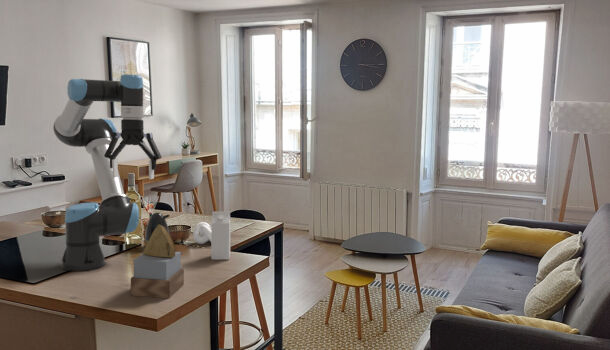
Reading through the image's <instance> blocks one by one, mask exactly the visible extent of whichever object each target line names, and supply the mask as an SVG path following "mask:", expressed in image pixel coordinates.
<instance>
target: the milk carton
mask: <svg viewBox="0 0 610 350" xmlns="http://www.w3.org/2000/svg"><path fill="white" fill-rule="evenodd" d="M210 225H211V242H210V244H211V246H210V247H211V250H210V251H211V253H210V254H211V256H210V259H211V260H212V261H213V260H216V261H217V260H220V261H221V260H226V261H228V260H230V256H231V211H211V224H210Z"/></svg>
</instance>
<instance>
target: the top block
mask: <svg viewBox="0 0 610 350" xmlns="http://www.w3.org/2000/svg"><path fill="white" fill-rule="evenodd" d="M181 259H182V256H181V251H175V257H171V258H170V257H156V256H149V255H145V254H144V255H143V253H142V254H141V255H139V256H137V257H135V258H133V276H134V278H144V279H157V280H167V279H169V278H170V277H171V276H172V275H174V274H175V273H176V272H178V271H179V270H180V269H182V267H181V264H182V263H181Z"/></svg>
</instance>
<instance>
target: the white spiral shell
mask: <svg viewBox="0 0 610 350" xmlns="http://www.w3.org/2000/svg"><path fill="white" fill-rule="evenodd" d="M192 237H193V240H194V242H195V243H197V244H199V245H203V244H205V243H207V242H210V243H211V224H209V223H207V222H205V221H200V222H199V223H197V224H196V225H195V226H194V227H193V231H192Z"/></svg>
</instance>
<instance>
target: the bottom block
mask: <svg viewBox="0 0 610 350" xmlns="http://www.w3.org/2000/svg"><path fill="white" fill-rule="evenodd" d="M184 276H185V269H184V268H181V269H180V270H179V271H178V272H176V273H175V274H174V275H172V276H171V277H170V278H169V279H167V280H157V279H144V278H134V275H133V276H132V277H131V278H130V296H134V297H135V296H136V297H148V298H151V297H152V298H165V299H170V298H172V297H173V295H175V294H176V293H177V292H178V291H179V290H180V289H181V288H182V287H183V286H184V285H185V283H184V281H185V278H184Z"/></svg>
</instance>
